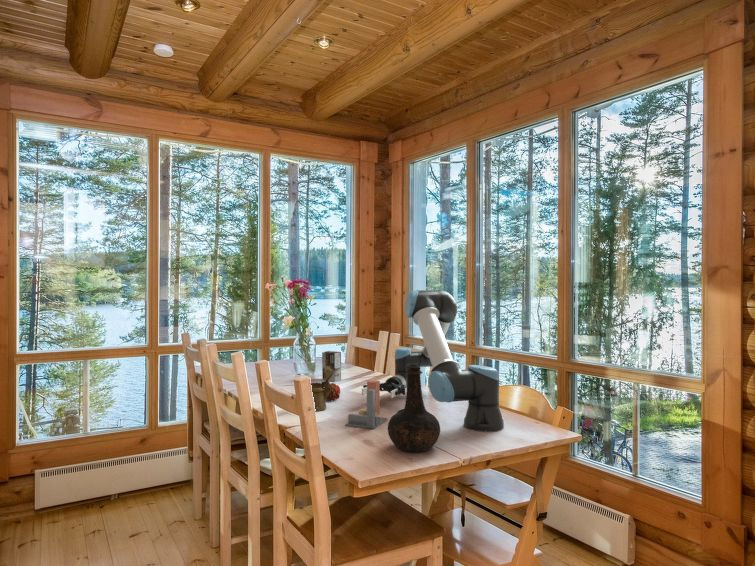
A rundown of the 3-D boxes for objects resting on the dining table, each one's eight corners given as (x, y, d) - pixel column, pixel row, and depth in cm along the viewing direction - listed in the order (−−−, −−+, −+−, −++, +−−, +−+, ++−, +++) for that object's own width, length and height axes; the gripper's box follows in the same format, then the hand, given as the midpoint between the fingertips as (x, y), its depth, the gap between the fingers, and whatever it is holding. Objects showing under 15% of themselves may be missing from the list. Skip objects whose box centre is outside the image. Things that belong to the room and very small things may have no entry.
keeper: (360, 417, 215) (360, 381, 215) (387, 420, 211) (387, 383, 211) (344, 426, 202) (344, 388, 202) (372, 429, 197) (372, 390, 197)
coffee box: (341, 380, 294) (341, 351, 294) (334, 382, 289) (334, 353, 289) (328, 378, 299) (328, 350, 299) (321, 380, 294) (321, 352, 294)
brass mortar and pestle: (336, 411, 225) (336, 369, 225) (305, 412, 224) (304, 370, 224) (336, 406, 234) (335, 366, 234) (305, 407, 233) (305, 366, 233)
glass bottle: (421, 437, 188) (421, 359, 188) (451, 451, 172) (451, 367, 172) (378, 444, 179) (377, 363, 179) (405, 460, 164) (404, 371, 163)
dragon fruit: (331, 406, 240) (329, 404, 252) (345, 394, 242) (342, 392, 254) (320, 391, 241) (318, 390, 252) (334, 380, 242) (332, 379, 254)
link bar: (371, 412, 223) (371, 380, 222) (379, 413, 221) (379, 380, 221) (367, 414, 219) (367, 381, 219) (375, 415, 217) (375, 382, 217)
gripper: (420, 394, 239) (403, 404, 219) (371, 390, 249) (350, 399, 229) (420, 378, 239) (403, 387, 219) (370, 374, 249) (350, 382, 229)
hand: (376, 393), depth 224 cm, fingers open, 13 cm apart
